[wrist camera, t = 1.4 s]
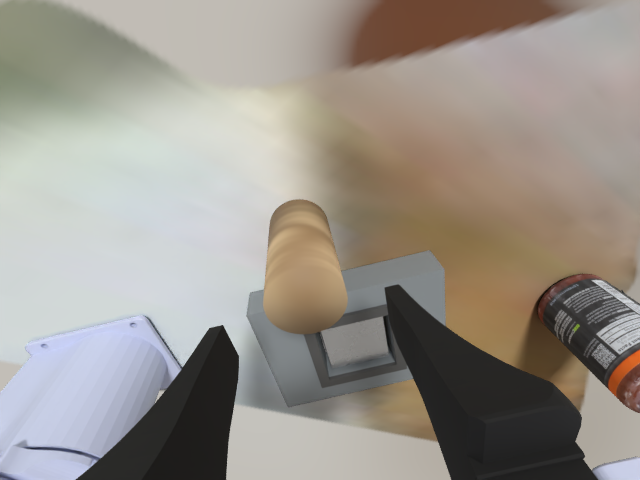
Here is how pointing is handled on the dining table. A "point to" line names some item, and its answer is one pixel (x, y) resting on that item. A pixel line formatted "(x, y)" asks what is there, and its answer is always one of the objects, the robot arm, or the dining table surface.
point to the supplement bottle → (598, 331)
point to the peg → (302, 271)
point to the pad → (356, 342)
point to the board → (363, 304)
